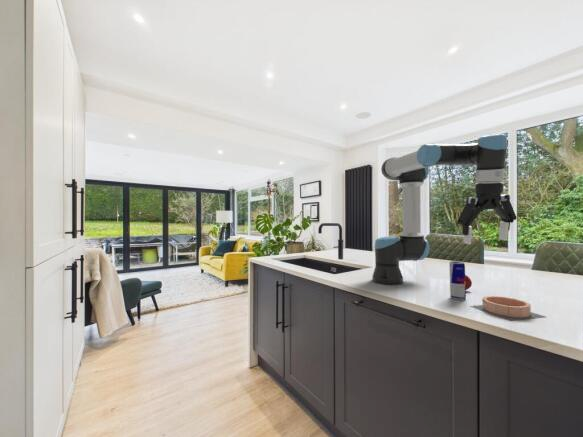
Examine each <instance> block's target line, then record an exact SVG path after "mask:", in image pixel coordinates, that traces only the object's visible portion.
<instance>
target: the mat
mask: <svg viewBox="0 0 583 437" xmlns="http://www.w3.org/2000/svg"><path fill="white" fill-rule="evenodd" d="M469 307H470V308H473V309H476V310H479V311H481V312H484V313H487V314H490V315H492V316H496V317H497V318H501V319H503V320H506V321H509V322H514V321H515V322H517V321H524V320H534V319H541V318H547V316H545V315H541V314H538V313H535V312H532V311H531V313H530V317H527V318H513V317H506V316H501V315H497V314H493V313H490V312H488V311H486V310H484V308H483V304H482V305H481V304H480V305H470V306H469Z"/></svg>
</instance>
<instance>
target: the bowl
mask: <svg viewBox="0 0 583 437" xmlns="http://www.w3.org/2000/svg"><path fill="white" fill-rule="evenodd" d="M482 305H483V308H484V310H486V311H488V312H490V313H493V314H497V315H501V316H506V317H513V318H527V317H530V313H531V312H532V308H531V306H532V305H531V303H529V302H527V301H524V300H521V299H517V298H512V297H508V296H507V297H506V296H499V295H498V296H497V295H496V296H495V295H488V296H483V297H482Z"/></svg>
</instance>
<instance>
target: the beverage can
mask: <svg viewBox="0 0 583 437" xmlns="http://www.w3.org/2000/svg"><path fill="white" fill-rule="evenodd" d="M465 275H466V264H465V262H464V261H458V260H456V261H454V260H451V261H449V290H450V292H449V293H450V298H451V299H453V300H456V301H464V300H466V299H467V297H466V296H467V294H466V293H467V292H466V286H465Z"/></svg>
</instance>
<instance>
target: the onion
mask: <svg viewBox="0 0 583 437" xmlns="http://www.w3.org/2000/svg"><path fill="white" fill-rule="evenodd" d="M472 285H473V283H472V280H471V278H470V277H469V276H468V275H466V274H465V286H466V290H469V289H470V288H471V287H472Z"/></svg>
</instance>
